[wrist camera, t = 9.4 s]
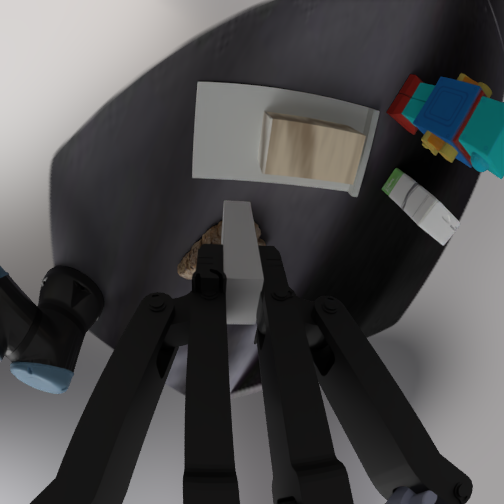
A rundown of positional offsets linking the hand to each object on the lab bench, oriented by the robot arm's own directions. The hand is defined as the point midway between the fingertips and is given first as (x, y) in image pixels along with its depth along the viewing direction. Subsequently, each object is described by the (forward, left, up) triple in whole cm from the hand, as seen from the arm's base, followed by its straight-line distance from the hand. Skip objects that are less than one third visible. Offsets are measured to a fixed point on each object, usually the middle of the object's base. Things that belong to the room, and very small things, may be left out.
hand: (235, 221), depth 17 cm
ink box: (+30, -5, -24) cm, 39 cm away
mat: (+8, 0, -24) cm, 25 cm away
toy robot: (+26, +10, -24) cm, 37 cm away
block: (+4, 0, -21) cm, 21 cm away
